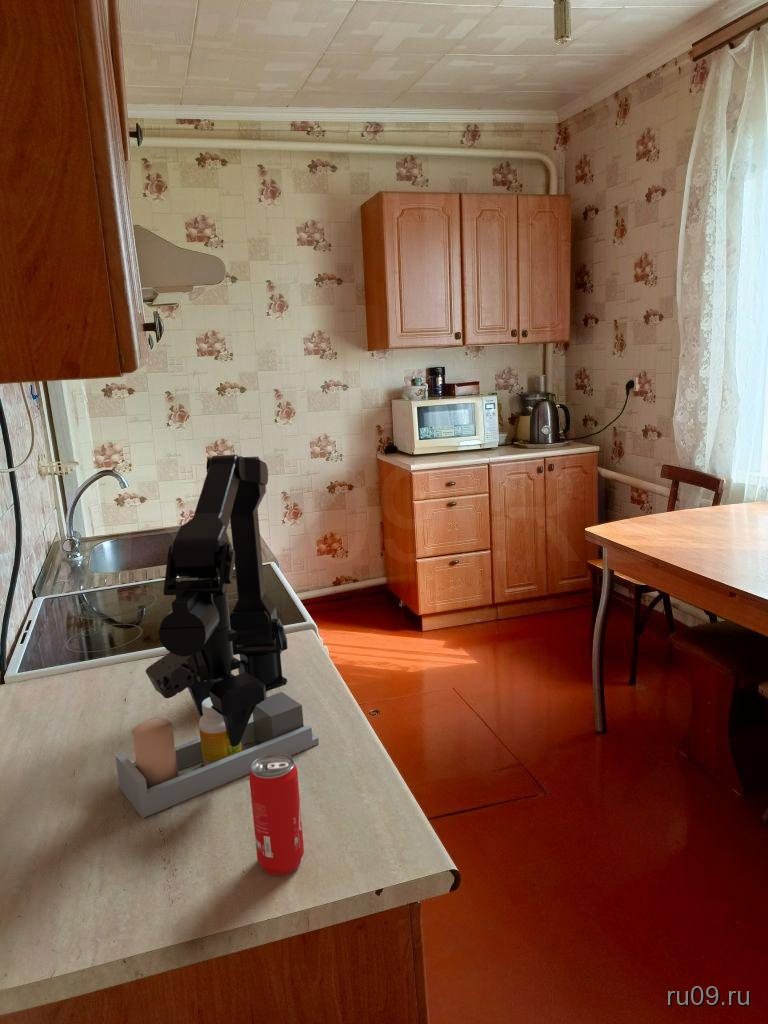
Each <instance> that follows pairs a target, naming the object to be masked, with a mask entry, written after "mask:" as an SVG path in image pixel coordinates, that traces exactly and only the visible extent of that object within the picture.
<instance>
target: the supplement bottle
mask: <svg viewBox="0 0 768 1024" xmlns="http://www.w3.org/2000/svg"><path fill="white" fill-rule="evenodd" d="M211 706H213V704H212V702H211V699H210V697H209V698H207V699H205V700H204V701H203V702H202V712H203V716H202V717H201V718H200V719H199V721H198V729H199V730H198V731H199V738H200V740H201V749H202V758H203V761H202V765H203V766H202V767H204V766H206V765H209V764H211V763H214V762H216V761H219V760H221V759H224V758H226V757H229V756H231V755H234V754H236V753H239V752H241V751H243V748H242V746H243V745H241V741H240V744H239V745H237V746H234V747H232V746H231V745H230V741H229V738H228V735H227V731H226V727H225V723H224V719H223V715H220V714H219V713H218V712H216V711H215V710H214V709H213V708H212V707H211Z"/></svg>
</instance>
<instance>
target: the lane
mask: <svg viewBox="0 0 768 1024" xmlns="http://www.w3.org/2000/svg"><path fill="white" fill-rule="evenodd" d="M312 730H313V729H312V727H311V726H310V725H308V724H307V725H305V726H304V727H302V728H299V729H297V730H294V731H292V732H289V733H287V734H284V735H282V736H279V737H277V738H274V739H272V740H269V741H267V742H264V743H262V744H260V743H258V744H257V745H254V746H252V747H249V748H247V749H244V750H242V751H241V752H239V753H236V754H234V755H231V756H229V757H226V758H224V759H221V760H219V761H216V762H214V763H211V764H209V765H206V766H201V767H198V768H197V769H194V770H192V771H189V772H186V773H184V774H181V775H179V777H176V778H174V779H171V780H169V781H166V782H164V783H161V784H158V785H156V786H153V787H151V788H148V789H147V785H146V779H145V778H144V776H143V775H142V774H141V773H140V772H139V771H138V769H137V764H136V761H133V762H132V760H130V759H129V758H128V756H127V755H126V754H125V753H124V752H123V751H122V752H119V753H117V754H115V755H114V756H115V763H116V769H117V777H118V786H119V790H120V791H121V793H122V794H124V796H125V797H126V799H127V801H129V803H130V804H131V806H133V808H134V809H135V810H136V812H137V813H138V814H139V815H140V817H141V818H142V819H144V818H147V817H148V816H151V815H154V814H156V813H158V812H161V811H163V810H165V809H168V808H171V807H173V806H175V805H178V804H180V803H182V802H184V801H187V800H190V799H191V798H194V797H197V796H200V795H201V794H204V793H206V792H209V791H211V790H213V789H215V788H218V787H220V786H222V785H225V784H227V783H230V782H233V781H235V780H237V779H239V778H242V777H245V776H246V775H249V773H250V771H251V765H252V763H253V762H254V761H255V760H257V759H258V758H260V757H263V756H265V755H269V754H285V755H288V756H290V757H292V756H294V755H297V754H299V753H302V752H304V751H306V750H308V748H309V747H311V748H313V747H315V746H314V745H316V746H318V745H319V744H320V741H319V737H318V736H316V735H315V734H313V731H312ZM255 741H256V740H255V732H254V721H253V717H252V718H250V719H249V722H248V724H247V726H246V729H245V731H244V734H243V736H242V739H241V746H244V745H247V744H248V743H251V742H255ZM317 744H318V745H317ZM312 746H313V747H312ZM305 749H306V750H305ZM309 749H310V748H309ZM303 750H304V751H303ZM175 751H176V758H177V765H178V771H180V770H182V769H185V768H188V767H190V766H193V765H195V764H197V763H201V762H203V758H202V749H201V740H200V737H198V738H196V739H192V740H191V741H188V742H185V743H182V744H179V745H177V746H175ZM301 751H302V752H301ZM296 753H297V754H296Z"/></svg>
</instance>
